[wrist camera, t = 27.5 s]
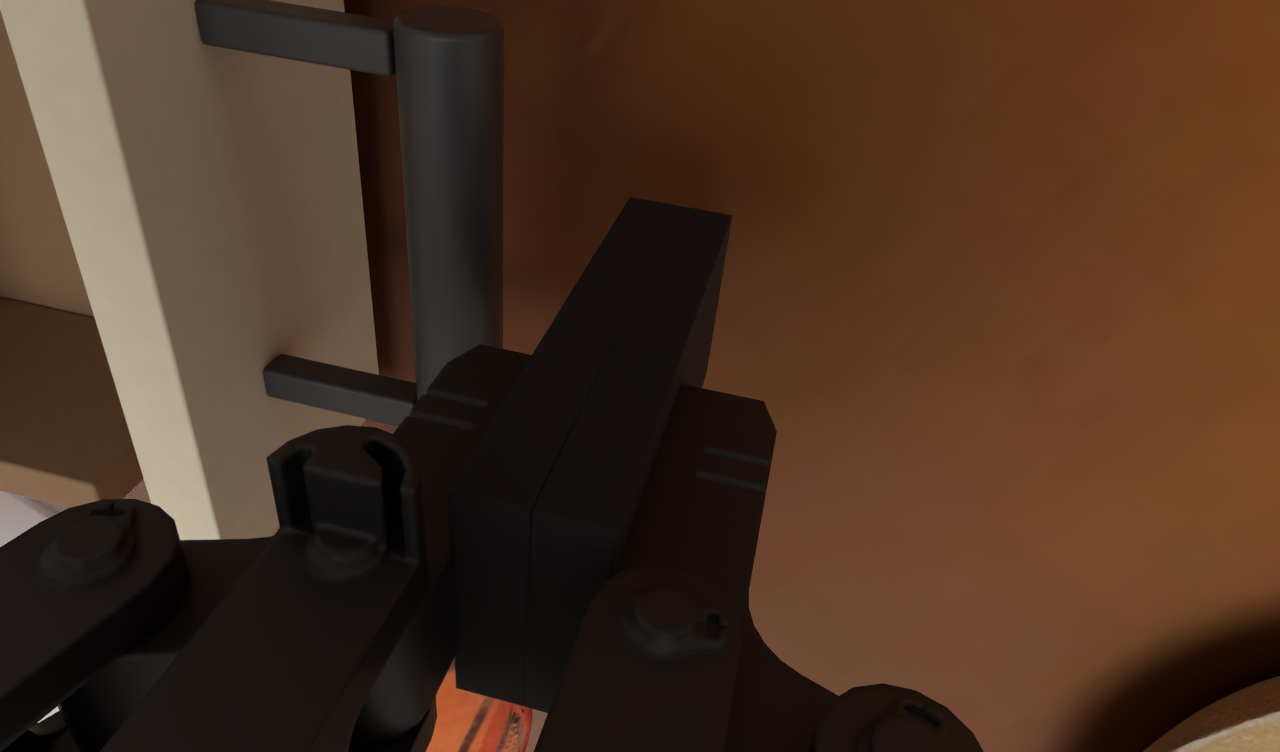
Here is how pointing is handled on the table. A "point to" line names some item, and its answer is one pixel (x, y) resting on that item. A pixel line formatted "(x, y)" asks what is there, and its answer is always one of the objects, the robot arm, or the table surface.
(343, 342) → the drawer
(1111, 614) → the table surface
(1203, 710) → the plant saucer
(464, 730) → the pot
